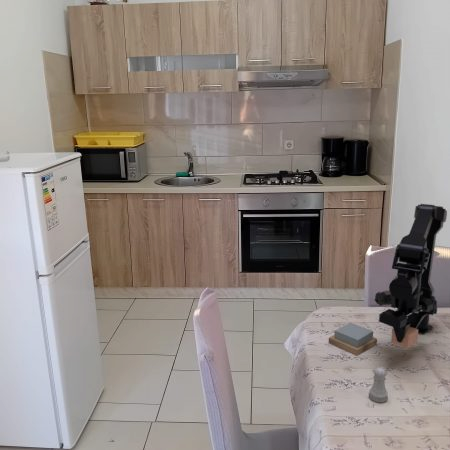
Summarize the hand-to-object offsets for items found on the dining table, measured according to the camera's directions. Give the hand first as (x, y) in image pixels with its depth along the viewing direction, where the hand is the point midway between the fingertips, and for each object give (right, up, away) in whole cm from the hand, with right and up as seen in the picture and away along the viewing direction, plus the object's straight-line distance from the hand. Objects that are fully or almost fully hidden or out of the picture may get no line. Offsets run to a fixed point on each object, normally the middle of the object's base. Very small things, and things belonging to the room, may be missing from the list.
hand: (404, 338), depth 131 cm
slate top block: (-12, -2, +9) cm, 15 cm away
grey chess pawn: (-13, -11, -17) cm, 23 cm away
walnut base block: (-12, -4, +10) cm, 16 cm away
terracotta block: (0, -1, 0) cm, 1 cm away
